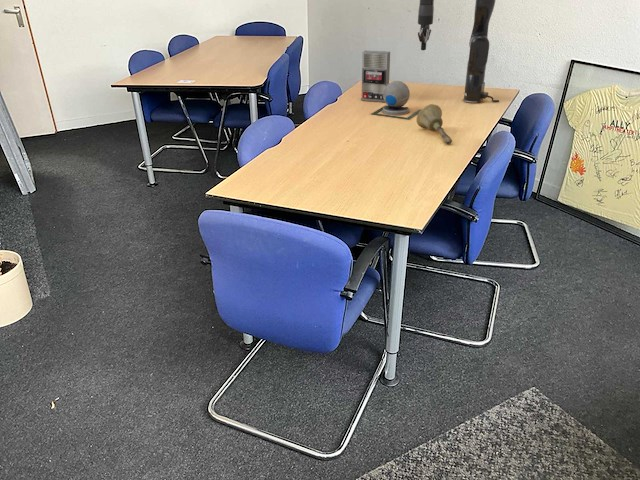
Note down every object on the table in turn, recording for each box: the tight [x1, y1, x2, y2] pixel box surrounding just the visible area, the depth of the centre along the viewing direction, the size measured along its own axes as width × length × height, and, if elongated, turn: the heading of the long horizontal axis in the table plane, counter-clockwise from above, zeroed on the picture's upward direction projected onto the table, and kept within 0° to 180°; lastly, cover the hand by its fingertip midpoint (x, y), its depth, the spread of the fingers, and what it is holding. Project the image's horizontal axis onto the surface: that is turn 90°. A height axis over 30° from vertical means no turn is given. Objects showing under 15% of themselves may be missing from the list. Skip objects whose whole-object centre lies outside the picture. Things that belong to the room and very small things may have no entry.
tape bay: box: [371, 105, 421, 120], centre depth 267 cm, size 20×17×1 cm
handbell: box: [416, 103, 453, 145], centre depth 231 cm, size 12×12×25 cm
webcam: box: [382, 80, 411, 116], centre depth 265 cm, size 13×13×15 cm
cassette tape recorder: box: [360, 50, 391, 103], centre depth 282 cm, size 14×6×25 cm, turn 68°
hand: (423, 49), depth 278 cm, fingers closed
